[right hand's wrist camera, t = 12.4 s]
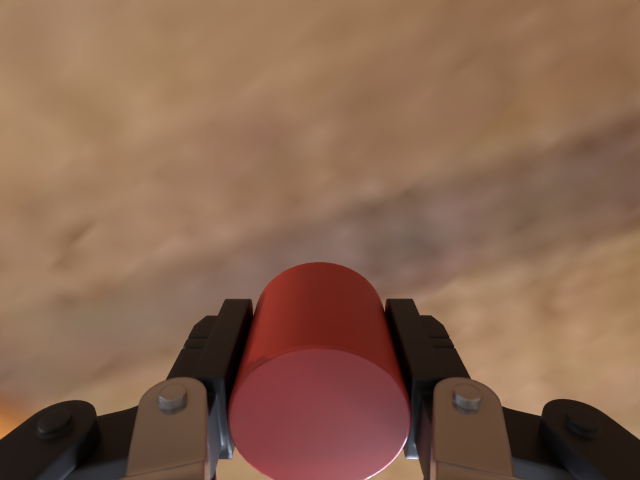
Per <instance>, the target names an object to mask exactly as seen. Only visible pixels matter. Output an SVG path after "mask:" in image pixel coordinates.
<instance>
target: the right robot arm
mask: <svg viewBox="0 0 640 480" xmlns="http://www.w3.org/2000/svg"><path fill="white" fill-rule="evenodd" d="M385 315H386V318H387V322H388V325H389V329H390V332H391V336H392V339H393V343H394V346H395V350H396V353H397V357H398V360H399V364H400V367H401V371H402V374H403V378H404V381H405V385H406V388H407V392H408V395H409V399H410V403H411V410H412V420H411V428H410V431H409V435H408V438H407V440H406V442H405V445H404V447H403V449H404V454H405V458H408V459H419V461H420V465H421V469H422V473H423V476H424V477H423V480H640V440H639V439H638V438H637V437H635V436H634V435H633V434H631V433H630V432H629V431H627V430H626V429H625V428H623V427H622V426H621V425H619V424H618V423H617V422H615V421H614V420H613V419H611V418H610V417H609V416H607V415H606V414H604V413H603V412H601V411H600V410H598V409H596V408H594V407H592V406H590V405H588V404H585V403H582V402H579V401H575V400H569V399H557V400H552V401H550V402H548V403H547V404H546V405H545V406H544V408H543V411H542V415H541V416H538V415H533V414H529V413H525V412H520V411H516V410H512V409H508V408H505V407H503V406H501V402H500V400H499V398H498V396H497V395H496V394H495V393H494V392H493V391H492V390H491V389H490V388H489V387H487V386H486V385H484V384H482V383H480V382H478V381H475V380H472V379H471V378H470V376H469V374H468V372H467V370H466V368H465V366H464V364H463V362H462V360H461V359H460V357H459V355H458V353H457V351H456V349H455V348H454V345H453V343H452V341H451V339H449V335H448V333H447V331H446V329H445V327H444V326H443V325H442V324H441V323H440V322H439V321H437V320H436V319H435V318H434V317H432V316H431V315H419V312H418V310H417V308H416V306H415V303H414V301H413V299H387V300H386V305H385ZM252 320H253V306H252V300H251V299H225V301H224V303H223V305H222V308H221V310H220V312H219V314H218V316H206V317H204V318H203V319H202V320H201V321H199V322H198V323H197V324H196V325H194V327H193V329H192V331H191V333H190V335H189V337H188V339H187V340H186V342H185V344H184V346H183V349H182V350H181V352H180V354H179V356H178V358H177V359H176V361H175V363H174V365H173V367H172V369H171V371H170V373H169V375H168V377H167V379H166V380H165V381H162V382H160V383H158V384H156V385H154V386H153V387H151V388H150V389H149V390H148V391H147V392H146V393H145V394H144V395H143V396H142V398H141V400H140V402H139V405H138V406H135V407H133V408H130V409H127V410H123V411H119V412H114V413H110V414H106V415H102V416H97V415H96V411H95V408H94V407H93V405H91V404H90V403H88V402H86V401H81V400H72V401H65V402H61V403H57V404H54V405H51V406H49V407H47V408H45V409H43V410H41V411H39V412H37V413H36V414H34V415H33V416H31V417H30V418H29V419H27V420H26V421H25V422H23V423H22V424H21V425H19V426H18V427H17V428H15V429H14V430H13V431H11V432H10V433H9V434H7V435H6V436H5V437H3V438H2V439H1V440H0V480H217V477H216V466H217V462H218V459H232V456H233V451H234V447H235V445H234V442H233V440H232V438H231V435H230V431H229V427H228V419H227V410H228V403H229V399H230V395H231V392H232V388H233V385H234V381H235V378H236V375H237V371H238V368H239V364H240V361H241V357H242V354H243V351H244V347H245V344H246V340H247V337H248V333H249V330H250V326H251V323H252Z"/></svg>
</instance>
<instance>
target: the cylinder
mask: <svg viewBox="0 0 640 480" xmlns="http://www.w3.org/2000/svg"><path fill="white" fill-rule="evenodd" d="M227 419H228V427H229V431H230V435H231V438H232V440H233V442H234V445H235V446H236V448H237V450H238V451H239V453H240V454H241V455H242V456H243V458H244V459H245V460H246V461H247V462H248V463H249V464H250V465H251V466H252V467H253V468H255V469H256V470H258V471H259V472H260V473H262V474H264V475H265V476H267V477H269V478H271V479H273V480H366V479H368V478H370V477H372V476H374V475H376V474H377V473H379V472H380V471H382V470H383V469H384V468H386V467H387V466H388V465H389V464H390V463H391V462H392V461H393V460H394V459H395V458H396V457H397V455H398V454H399V453H400V451H401V450H402V448H403V447H404V445H405V442H406V440H407V438H408V435H409V431H410V428H411V420H412V410H411V403H410V399H409V395H408V392H407V388H406V385H405V381H404V378H403V374H402V371H401V367H400V364H399V360H398V357H397V353H396V350H395V346H394V343H393V339H392V336H391V332H390V329H389V325H388V322H387V318H386V315H385V311H384V308H383V304H382V302H381V299H380V297H379V295H378V293H377V292H376V290H375V289H374V287H373V286H372V285H371V284H370V283H369V282H368V281H367V280H366V279H365V278H364V277H363V276H361V275H360V274H359V273H357V272H355V271H353V270H351V269H349V268H347V267H344V266H341V265H337V264H333V263H326V262H314V263H306V264H302V265H298V266H295V267H293V268H290V269H288V270H286V271H284V272H282V273H281V274H279V275H278V276H277V277H275V278H274V279H273V280H272V281H271V282H270V283H269V284H268V285H267V286H266V288H265V289H264V291H263V292H262V294H261V295H260V298H259V300H258V302H257V306H256V309H255V313H254V316H253V320H252V323H251V326H250V330H249V333H248V337H247V340H246V344H245V347H244V351H243V354H242V357H241V361H240V364H239V368H238V371H237V375H236V378H235V381H234V385H233V388H232V392H231V395H230V399H229V403H228V410H227Z"/></svg>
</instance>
